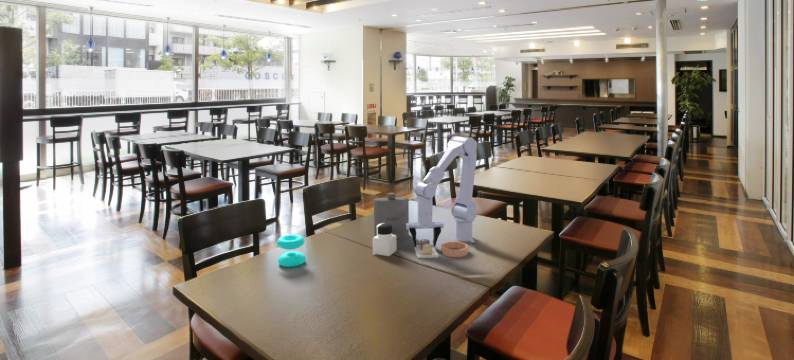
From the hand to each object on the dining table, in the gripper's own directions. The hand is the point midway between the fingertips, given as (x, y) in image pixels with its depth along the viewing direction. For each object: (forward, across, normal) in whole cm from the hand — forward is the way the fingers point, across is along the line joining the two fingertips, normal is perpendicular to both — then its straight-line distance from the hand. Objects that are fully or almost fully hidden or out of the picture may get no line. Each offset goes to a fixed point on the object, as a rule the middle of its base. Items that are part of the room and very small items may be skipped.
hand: (424, 245), depth 183 cm
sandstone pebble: (+1, 0, -6) cm, 6 cm away
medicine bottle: (+2, -16, -1) cm, 16 cm away
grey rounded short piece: (+1, 0, 0) cm, 1 cm away
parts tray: (+2, 0, -3) cm, 4 cm away
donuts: (+3, -51, -7) cm, 51 cm away
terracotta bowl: (+2, +11, -4) cm, 12 cm away
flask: (+2, -12, +17) cm, 21 cm away
